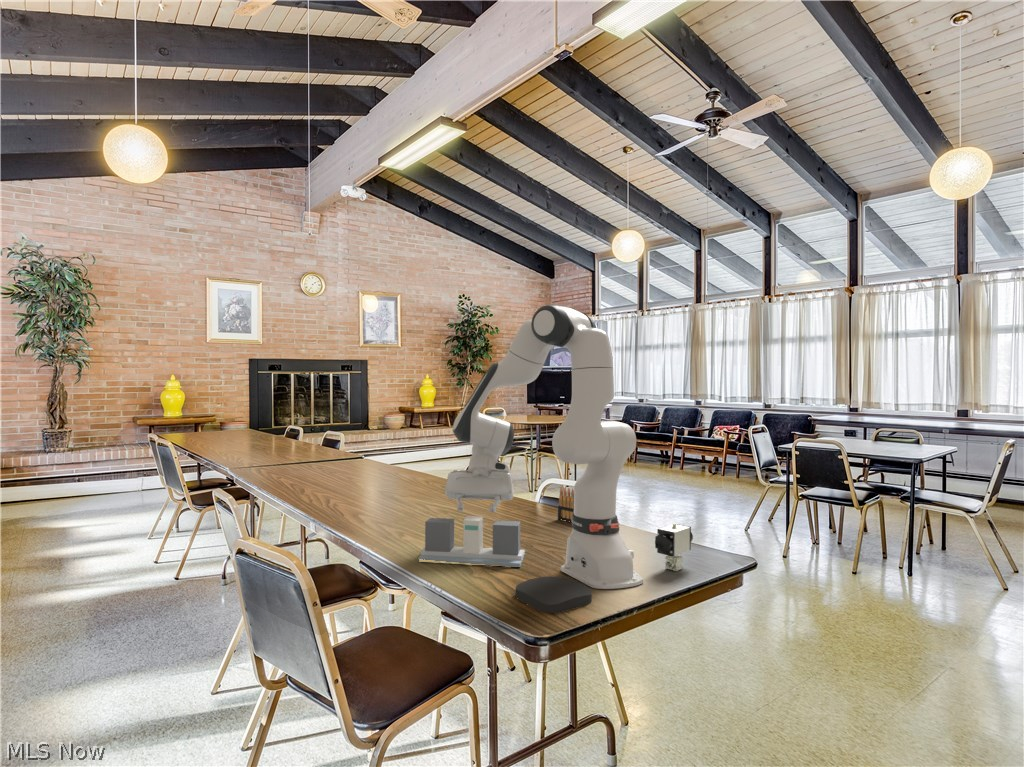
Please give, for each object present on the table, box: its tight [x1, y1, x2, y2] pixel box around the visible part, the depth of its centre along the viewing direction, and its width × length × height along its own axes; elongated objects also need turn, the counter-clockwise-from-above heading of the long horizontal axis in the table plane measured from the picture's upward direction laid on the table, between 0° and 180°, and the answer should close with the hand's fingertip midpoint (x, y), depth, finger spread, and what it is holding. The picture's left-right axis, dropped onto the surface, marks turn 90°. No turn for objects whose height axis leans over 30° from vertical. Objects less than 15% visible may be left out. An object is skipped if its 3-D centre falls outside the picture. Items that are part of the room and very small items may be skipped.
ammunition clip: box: [557, 486, 574, 523], centre depth 197 cm, size 11×2×12 cm, turn 45°
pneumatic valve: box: [654, 523, 694, 572], centre depth 148 cm, size 6×12×12 cm, turn 133°
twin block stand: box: [417, 517, 526, 568], centre depth 155 cm, size 12×28×10 cm, turn 82°
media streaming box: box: [514, 576, 593, 614], centre depth 127 cm, size 15×15×3 cm
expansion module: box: [462, 515, 484, 554], centre depth 155 cm, size 5×4×9 cm
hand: (476, 510), depth 159 cm, fingers open, 8 cm apart
